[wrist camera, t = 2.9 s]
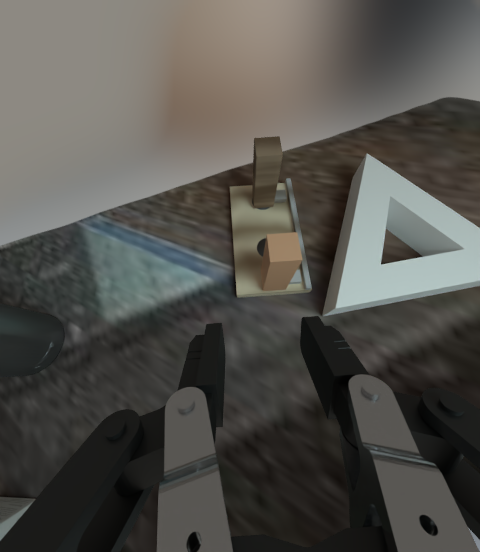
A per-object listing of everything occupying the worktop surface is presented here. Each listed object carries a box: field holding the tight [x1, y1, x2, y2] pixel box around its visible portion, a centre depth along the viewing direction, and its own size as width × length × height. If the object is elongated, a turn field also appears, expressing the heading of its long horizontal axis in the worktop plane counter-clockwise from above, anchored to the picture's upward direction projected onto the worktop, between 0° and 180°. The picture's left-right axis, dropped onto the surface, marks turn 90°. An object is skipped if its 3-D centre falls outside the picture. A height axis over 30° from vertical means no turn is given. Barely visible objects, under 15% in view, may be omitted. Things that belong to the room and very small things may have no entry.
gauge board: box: [230, 179, 312, 298], centre depth 39 cm, size 22×12×2 cm, turn 4°
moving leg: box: [261, 232, 302, 291], centre depth 30 cm, size 4×6×11 cm, turn 94°
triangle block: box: [322, 154, 480, 316], centre depth 36 cm, size 30×26×6 cm
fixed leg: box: [252, 137, 287, 208], centre depth 36 cm, size 4×6×11 cm, turn 94°
